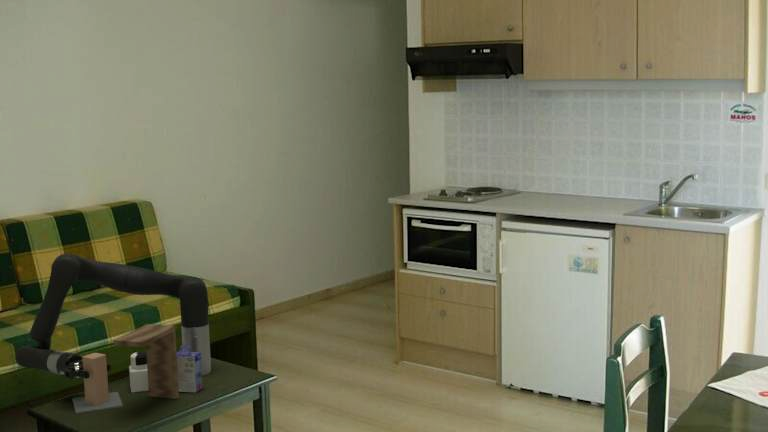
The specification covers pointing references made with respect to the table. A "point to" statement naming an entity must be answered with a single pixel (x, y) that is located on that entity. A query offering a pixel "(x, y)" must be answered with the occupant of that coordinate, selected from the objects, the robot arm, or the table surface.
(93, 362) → the terracotta carton
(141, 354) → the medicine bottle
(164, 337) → the walnut shelf
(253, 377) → the table surface
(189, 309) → the robot arm
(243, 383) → the table surface
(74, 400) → the slate mat
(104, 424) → the table surface
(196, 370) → the ink cartridge box
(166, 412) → the table surface
